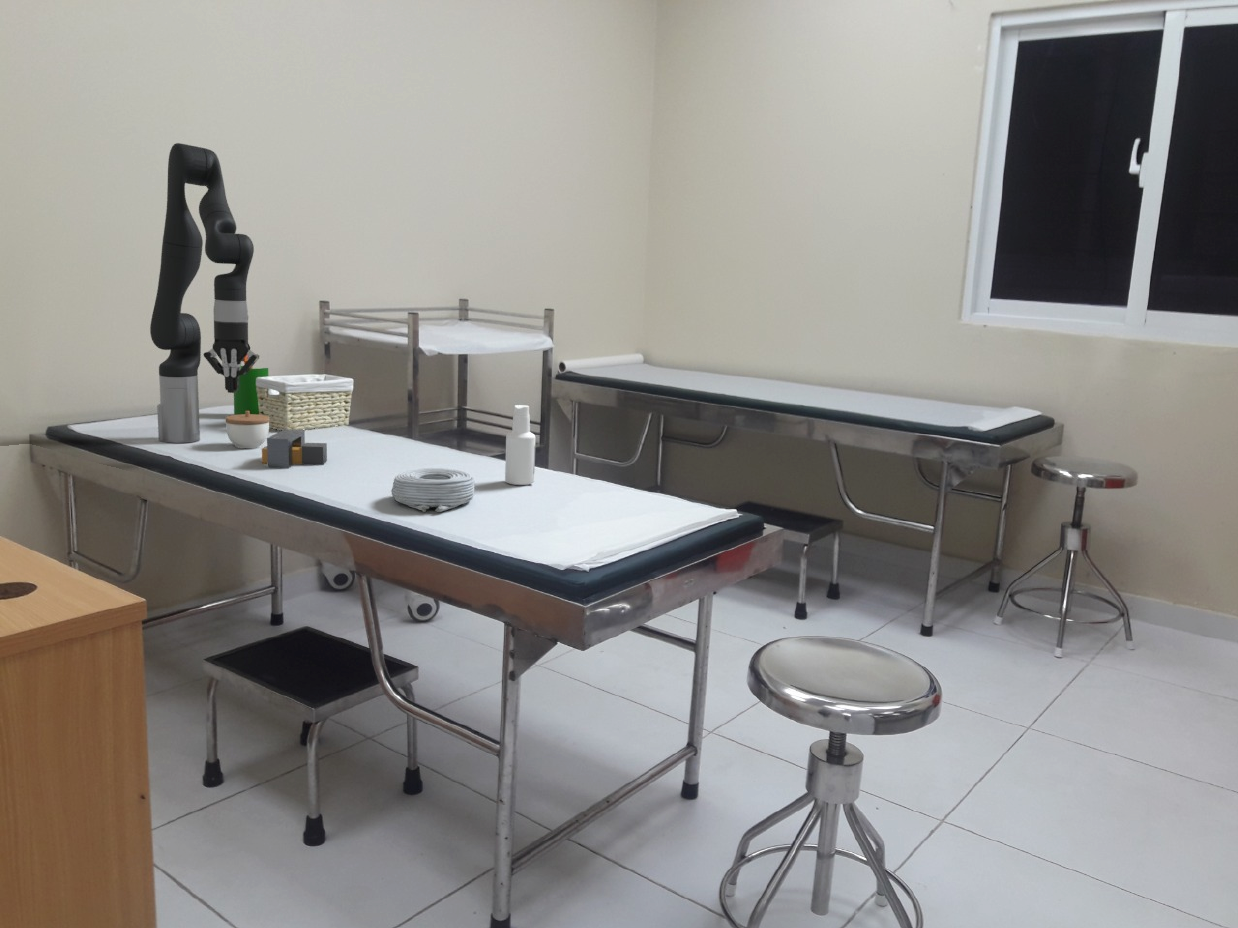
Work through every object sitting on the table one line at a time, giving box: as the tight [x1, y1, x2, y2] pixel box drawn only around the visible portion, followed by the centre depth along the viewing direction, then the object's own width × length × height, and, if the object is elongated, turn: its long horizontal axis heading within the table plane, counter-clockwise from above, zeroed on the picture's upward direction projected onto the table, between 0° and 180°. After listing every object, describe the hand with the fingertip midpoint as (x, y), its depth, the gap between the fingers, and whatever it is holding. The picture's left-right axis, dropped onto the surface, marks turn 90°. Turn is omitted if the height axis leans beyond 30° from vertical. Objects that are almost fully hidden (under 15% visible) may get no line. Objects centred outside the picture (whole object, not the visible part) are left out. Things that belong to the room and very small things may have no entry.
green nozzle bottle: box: [233, 354, 269, 415], centre depth 298 cm, size 10×9×20 cm
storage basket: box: [256, 373, 355, 431], centre depth 289 cm, size 24×16×15 cm
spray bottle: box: [504, 404, 536, 486], centre depth 229 cm, size 7×7×18 cm
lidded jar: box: [224, 411, 270, 449], centre depth 256 cm, size 11×11×9 cm
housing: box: [266, 429, 306, 469], centre depth 239 cm, size 5×13×7 cm, turn 1°
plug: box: [261, 442, 328, 466], centre depth 241 cm, size 14×5×4 cm, turn 97°
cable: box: [390, 467, 475, 513], centre depth 209 cm, size 18×18×6 cm
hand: (232, 392), depth 236 cm, fingers closed
